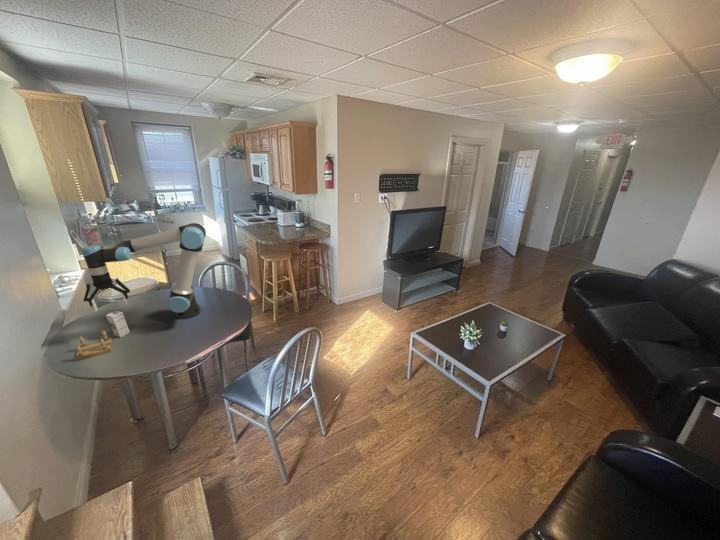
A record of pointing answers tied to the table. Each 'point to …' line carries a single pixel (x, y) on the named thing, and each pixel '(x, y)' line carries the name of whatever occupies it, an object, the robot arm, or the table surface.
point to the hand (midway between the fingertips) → (112, 307)
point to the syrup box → (118, 323)
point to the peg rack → (93, 347)
